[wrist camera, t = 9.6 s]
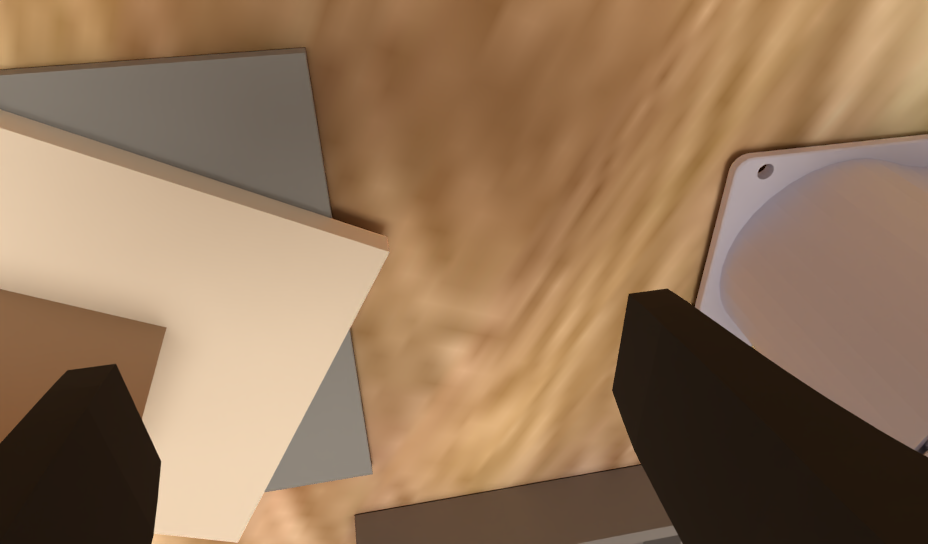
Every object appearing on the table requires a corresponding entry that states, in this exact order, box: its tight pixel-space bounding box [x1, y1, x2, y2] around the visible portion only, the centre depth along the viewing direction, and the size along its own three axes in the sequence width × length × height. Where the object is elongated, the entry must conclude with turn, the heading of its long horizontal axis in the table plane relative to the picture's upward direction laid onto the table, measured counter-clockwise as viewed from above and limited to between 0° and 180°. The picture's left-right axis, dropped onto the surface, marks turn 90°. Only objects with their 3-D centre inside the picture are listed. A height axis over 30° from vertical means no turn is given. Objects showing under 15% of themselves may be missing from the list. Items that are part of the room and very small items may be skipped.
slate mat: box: [0, 48, 373, 492], centre depth 19 cm, size 16×16×1 cm
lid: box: [0, 109, 390, 543], centre depth 17 cm, size 14×14×6 cm
